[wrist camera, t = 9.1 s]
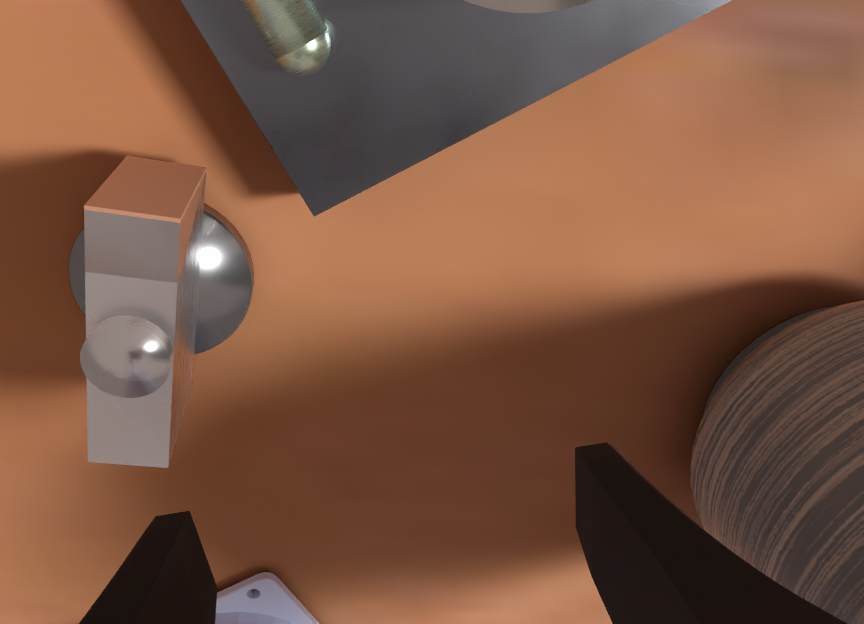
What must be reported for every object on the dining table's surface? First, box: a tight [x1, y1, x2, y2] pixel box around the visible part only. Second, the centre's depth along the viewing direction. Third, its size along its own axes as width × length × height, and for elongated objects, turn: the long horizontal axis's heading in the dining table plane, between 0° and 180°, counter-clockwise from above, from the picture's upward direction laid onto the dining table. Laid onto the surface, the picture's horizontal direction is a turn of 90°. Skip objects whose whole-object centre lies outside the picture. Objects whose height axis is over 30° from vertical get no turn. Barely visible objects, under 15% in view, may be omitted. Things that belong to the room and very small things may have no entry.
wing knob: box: [69, 156, 254, 468], centre depth 19 cm, size 7×5×5 cm
